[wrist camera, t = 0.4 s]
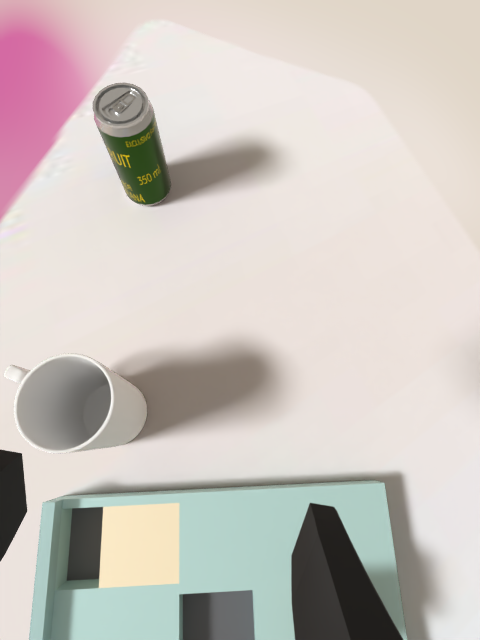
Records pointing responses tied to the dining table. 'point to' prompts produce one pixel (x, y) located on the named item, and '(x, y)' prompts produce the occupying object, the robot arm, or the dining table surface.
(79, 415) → the mug
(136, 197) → the beer can
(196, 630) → the board
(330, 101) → the dining table surface
